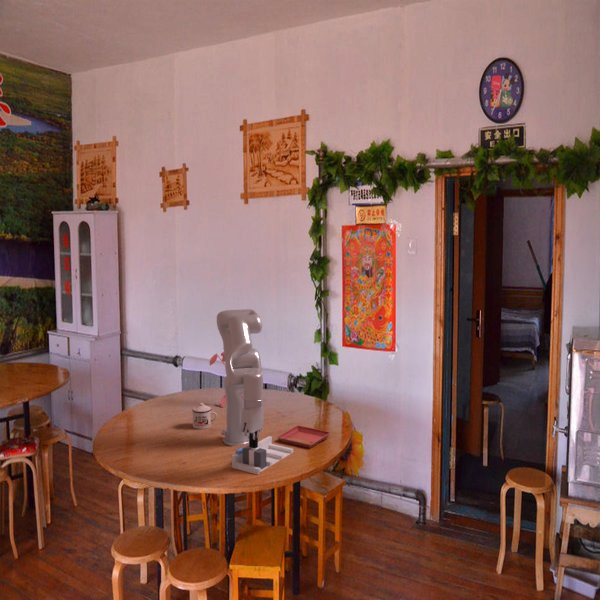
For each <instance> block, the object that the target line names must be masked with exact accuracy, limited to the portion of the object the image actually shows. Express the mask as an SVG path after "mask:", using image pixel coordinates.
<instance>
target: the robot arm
mask: <svg viewBox="0 0 600 600" xmlns="http://www.w3.org/2000/svg"><path fill="white" fill-rule="evenodd" d="M216 325H217V326H216V327H217V329H218V332H219V335H220V337H221V339H222V343H223V348H224V349H223V352H224V356H225V362H224V363H225V365H224V367H225V375H226V376H225V377H224V379H223V386H224V388H223V389H224V395H225V394H226V405H225V407H226V410H225V412H226V413H225V414H226V429H225V428H222V429H221V432H220V435H223V436H224V437H223V444H225V445H226V446H231V447H236V446H245V445H248V444H249V445H248V446H249V447H250V448H254V449H255V448H257V447H258V442H259V436H260V435H259V434H260V432H262V430H263V428H264V426H265V413H264V407H263V388H264V378H263V371H262V369H263V368H262V362H261V356H260V352H259V351H258V350H257V349H256V348H253V343H252V336H251V335H252V334H254V335H255V334H259V333H261V331H263V330H262V328H263V322H262V319H261V317H260V315H259V313H257V312H256V311H255V310H254V309H251V308H250V309H247V308H246V309H227V310H222V311H220V312H218V314H217V315H216ZM243 394H244V398H243V397H242V395H243Z"/></svg>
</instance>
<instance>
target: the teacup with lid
mask: <svg viewBox="0 0 600 600" xmlns="http://www.w3.org/2000/svg"><path fill="white" fill-rule="evenodd" d="M191 411H192V427H193V428H194V429H196V430H205V429H209V428H211V426H212V422H215V421H216V420H217V418H218V414H217V412H215V411H212V408H211V406H209V405H206V404H204V403H203V402H200V403H199V404H198V405H197V406H194V407H193V408H192V409H191ZM212 414H214V415H215V418H214V419H212Z"/></svg>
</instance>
